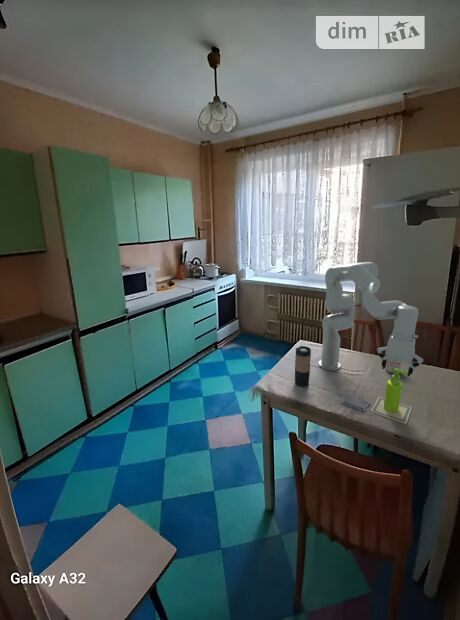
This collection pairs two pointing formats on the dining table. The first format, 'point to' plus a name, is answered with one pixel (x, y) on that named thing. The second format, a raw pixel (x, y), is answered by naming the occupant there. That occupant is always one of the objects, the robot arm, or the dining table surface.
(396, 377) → the soap dispenser
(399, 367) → the white patterned box
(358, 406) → the ink pad
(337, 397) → the dining table surface
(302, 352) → the travel mug
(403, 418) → the card sheet
